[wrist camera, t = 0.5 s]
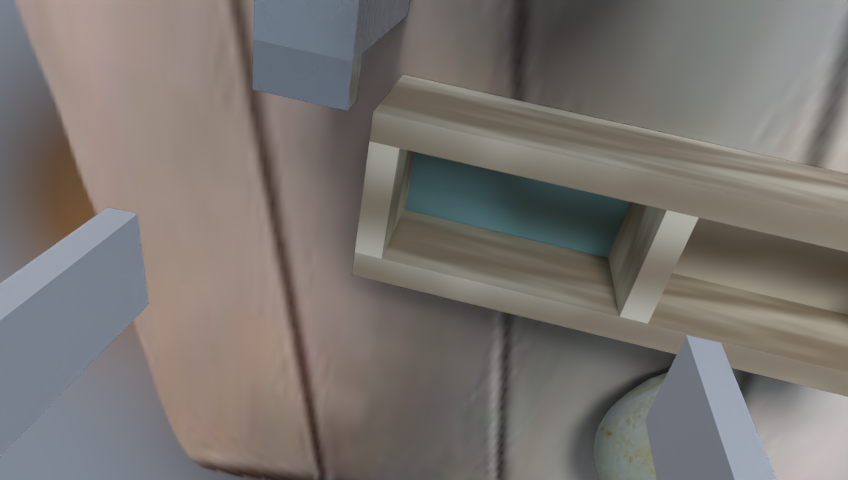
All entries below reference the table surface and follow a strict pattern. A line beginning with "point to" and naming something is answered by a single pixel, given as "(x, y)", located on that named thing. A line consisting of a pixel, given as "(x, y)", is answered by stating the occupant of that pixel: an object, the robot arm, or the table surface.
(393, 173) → the well block
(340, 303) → the table surface
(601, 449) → the seashell
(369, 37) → the pale blue pillar block
